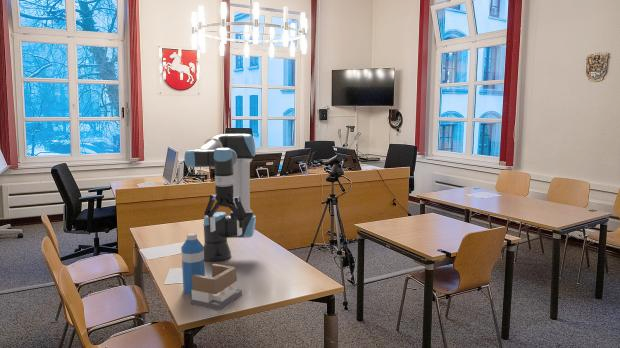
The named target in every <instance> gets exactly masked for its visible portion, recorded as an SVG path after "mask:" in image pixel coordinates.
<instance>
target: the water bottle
mask: <svg viewBox="0 0 620 348" xmlns="http://www.w3.org/2000/svg"><path fill="white" fill-rule="evenodd" d="M180 251H181V267H182V269H181V270H182V271H181V272H182V285H183V286H182V289H183V292H184V294H185V295H191V296H192V289H193V288H192V275H194V274H196V275H202V276H206V274H205V260H204V244H202V243H201V241H200V240H199V239H198V234H197V233H196V232H191V233H190V232H189V233H188V234H186V240H185V241H184V242H183V244H182V246H181V248H180Z"/></svg>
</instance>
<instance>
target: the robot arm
mask: <svg viewBox="0 0 620 348" xmlns="http://www.w3.org/2000/svg"><path fill="white" fill-rule="evenodd" d="M255 156H256V143H255V139H254V136H253V135H252V134H250V133H221V134H217V135H214V136H211V137H210V138H208V139H207V140H206V141H205V142H204V144H203V145H201V146H200V147H198V148H196V149H190V150H189V149H187V150H186V151H185V152H184V157H183V158H184V165H185V166H186V167H187V168H214V184H215V186H214V187H215V193H213V194H210V195H209V201H208V202H207V204H206V208H205V210H204V213H203V215H204V218H203V223H202V224H203V235H204V236H203V238H204V240H203V241H204V242H203V243H204V244H203V247H204V261H206V262H220V261H221V262H222V261H225V260H229V259H230V258H231V257H232V252H231V249H230V246H229V243H228V239H232V238H235V239H237V238H238V239H239V238H241V239H242V238H243V239H247V238H253V236H254V234H255V229H256V221H257V217H256V214H254V211H253V210H252V209H251V187H250V186H251V184H250V183H251V175H250V174H251V170H250V169H251V167H250V166H251V165H250V164H251V162H252V161H253V160H254V159H253V158H254V157H255ZM215 201H216V203H215ZM221 207H225V208H229V209H230V215H229V214H227V213H226V211H218V210H219V208H221Z"/></svg>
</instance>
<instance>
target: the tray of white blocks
mask: <svg viewBox="0 0 620 348" xmlns="http://www.w3.org/2000/svg"><path fill="white" fill-rule="evenodd" d="M231 285H232V284H231ZM231 285H230V286H228V287H227V288H225V289H224V290H222V291H221V292H219V293H217V294H211V293H206V292H200V291H195V290H193V289H192V295H191V299H190V305H195V306H199V307H204V308H209V309H214V310H219V311H221V310H222V309H224V308H225V307H227V306H228V305H230V304H231V303H232V302H234V301H235V300H237V299H238V298H239V297H240V296H242V295H243V290H242V289H239V288H237V287H233V286H231Z"/></svg>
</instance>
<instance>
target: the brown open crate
mask: <svg viewBox="0 0 620 348" xmlns="http://www.w3.org/2000/svg"><path fill="white" fill-rule="evenodd" d="M237 275H238V274H237V266H231V265H224V264H217V263H213V264H211V276H207V275H205V276H202V275H196V274H194V275H192V288H193V290H195V291H200V292H206V293H211V294H217V293H219V292H221V291H222V290H224V289H225V288H227V287H228V286H230V285H233V284H235V283H236V282H237V281H238V280H237V278H238V276H237Z"/></svg>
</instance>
